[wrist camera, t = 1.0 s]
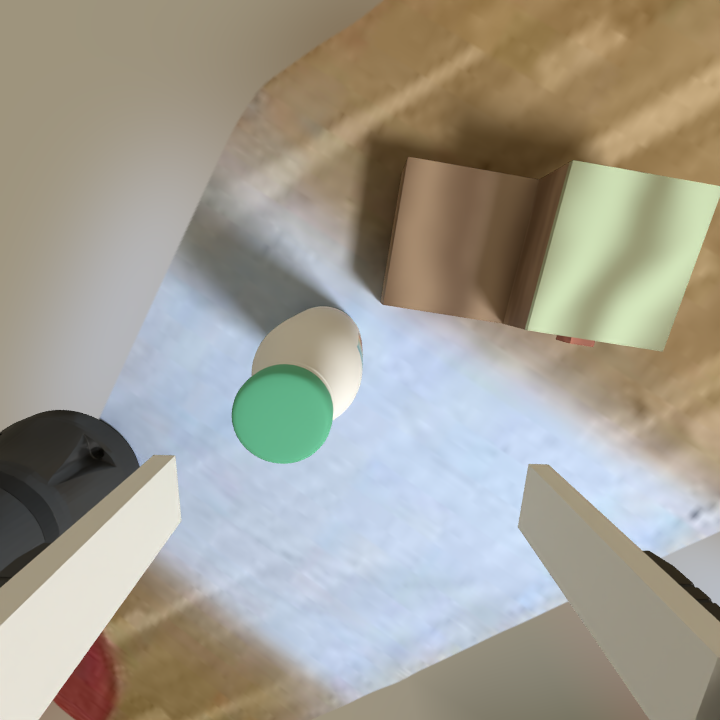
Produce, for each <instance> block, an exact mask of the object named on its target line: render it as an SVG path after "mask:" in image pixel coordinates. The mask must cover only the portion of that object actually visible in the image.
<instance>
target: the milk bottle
mask: <svg viewBox="0 0 720 720" xmlns="http://www.w3.org/2000/svg"><path fill="white" fill-rule="evenodd" d="M362 369H363V354H362V340H361V335H360V332H359V329H358V327H357V325H356V324H355V322H354V321H353V320H352V319H351V318H350V317H349V316H348V315H347V314H346V313H344V312H343V311H341V310H339V309H336V308H333V307H327V306H319V307H313V308H310V309H307V310H305V311H303V312H301V313H299V314H297V315H295V316H293V317H291V318H289V319H288V320H286V321H284V322H283V323H281V324H280V325H278V326H277V327H276V328H274V329H273V330H272V331H271V332H270V333H269V334H268V335H267V336H266V337H265V338H264V340H263V341H262V342H261V344H260V346H259V347H258V349H257V351H256V354H255V357H254V360H253V365H252V377H250V378H249V379H248V380H247V381H246V382H245V383H244V385H243V386H242V387H241V388H240V390H239V391H238V393H237V395H236V397H235V400H234V403H233V408H232V423H233V427H234V431H235V433H236V435H237V437H238V439H239V440H240V442H241V443H242V444H243V446H244V447H245V448H246V449H247V450H248V451H250V452H251V453H252V454H254V455H255V456H257V457H259V458H261V459H263V460H266V461H269V462H273V463H281V464H286V463H294V462H298V461H301V460H303V459H305V458H307V457H309V456H311V455H312V454H313V453H315V452H316V451H317V450H318V449H319V448H320V447H321V446H322V445H323V443H324V442H325V440H326V438H327V437H328V434H329V432H330V428H331V425H332V421H333V420H334V419H335V418H337V417H338V416H340V415H341V414H342V413H343V412H344V411H345V410H346V409H347V408H348V407H349V406H350V404H351V403H352V401H353V400H354V398H355V396H356V394H357V392H358V389H359V386H360V383H361V378H362Z"/></svg>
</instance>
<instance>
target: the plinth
mask: <svg viewBox="0 0 720 720" xmlns="http://www.w3.org/2000/svg"><path fill="white" fill-rule="evenodd" d="M719 197H720V186H716V185H710V184H705V183H699V182H693V181H688V180H682V179H676V178H671V177H665V176H660V175H654V174H648V173H644V172H639V171H633V170H628V169H620V168H615V167H609V166H603V165H598V164H592V163H587V162H581V161H575V160H573V161H571V162H569V163H567V164H566V165H564V166H562V167H560V168H559V169H557V170H555V171H554V172H552V173H550V174H548V175H547V176H545V177H543V178H541V179H540V180H539V179H533V178H527V177H522V176H516V175H510V174H504V173H499V172H493V171H487V170H482V169H476V168H470V167H464V166H459V165H453V164H447V163H442V162H436V161H430V160H424V159H419V158H413V157H408V158H407V161H406V163H405V166H404V169H403V171H402V175H401V181H400V187H399V193H398V199H397V205H396V211H395V217H394V223H393V229H392V235H391V241H390V247H389V253H388V259H387V265H386V271H385V277H384V283H383V289H382V295H381V301H380V302H381V303H382V304H383V305H388V306H394V307H401V308H407V309H414V310H420V311H426V312H433V313H439V314H445V315H452V316H458V317H464V318H471V319H477V320H484V321H490V322H496V323H503V324H507V325H510V326H514V327H517V328H521V329H525V330H529V331H536V332H542V333H548V334H555V335H557V337H556V340H560V341H563V342H567V343H571V344H577V345H584V346H590V347H593V346H594V343H595V341H599V342H606V343H612V344H618V345H625V346H631V347H638V348H644V349H650V350H657V351H663V350H664V347H665V344H666V342H667V339H668V336H669V334H670V331H671V328H672V325H673V323H674V320H675V317H676V314H677V312H678V309H679V306H680V304H681V301H682V298H683V295H684V293H685V290H686V287H687V284H688V282H689V279H690V276H691V274H692V271H693V268H694V265H695V263H696V260H697V257H698V254H699V252H700V249H701V246H702V244H703V241H704V238H705V235H706V233H707V230H708V227H709V224H710V222H711V219H712V216H713V214H714V211H715V208H716V205H717V203H718V200H719Z"/></svg>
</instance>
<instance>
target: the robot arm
mask: <svg viewBox="0 0 720 720" xmlns="http://www.w3.org/2000/svg"><path fill="white" fill-rule="evenodd" d="M180 522H181V513H180V502H179V491H178V480H177V469H176V458H175V456H172V455H153V456H152V457H151V458H150V459H149V460H148V461H146V462H145V463H144V464H143V465H142V466H141V467H139V464H138V461H137V459H136V456H135V454H134V453H133V451H132V449H131V448H130V446H129V445H128V443H127V442H126V441H125V440H124V439H123V438H122V437H121V436H120V435H119V434H118V433H117V432H116V431H115V430H114V429H113V428H111V427H110V426H108V425H107V424H105V423H104V422H102V421H100V420H98V419H96V418H94V417H92V416H89V415H86V414H83V413H80V412H75V411H67V410H53V411H46V412H42V413H39V414H36V415H33V416H31V417H28V418H26V419H23V420H21V421H19V422H16V423H14V424H12V425H11V426H9V427H7V428H6V429H4V430H3V431H2V432H0V720H38V719H39V718H40V717H41V715H42V714H43V713H44V711H45V710H46V708H47V707H48V706H49V704H50V703H51V702H52V700H53V699H54V697H55V696H56V695H57V693H58V692H59V690H60V689H61V688H62V686H63V685H64V683H65V682H66V681H67V679H68V678H69V676H70V675H71V674H72V672H73V671H74V670H75V668H76V667H77V665H78V664H79V663H80V661H81V660H82V658H83V657H84V656H85V654H86V653H87V651H88V650H89V649H90V647H91V646H92V644H93V643H94V642H95V640H96V639H97V638H98V636H99V635H100V633H101V632H102V631H103V629H104V628H105V626H106V625H107V624H108V622H109V621H110V619H111V618H112V617H113V615H114V614H115V612H116V611H117V610H118V608H119V607H120V606H121V604H122V603H123V601H124V600H125V599H126V597H127V596H128V594H129V593H130V592H131V590H132V589H133V587H134V586H135V585H136V583H137V582H138V580H139V579H140V578H141V576H142V575H143V574H144V572H145V571H146V569H147V568H148V567H149V565H150V564H151V562H152V561H153V560H154V558H155V557H156V555H157V554H158V553H159V551H160V550H161V548H162V547H163V546H164V544H165V543H166V542H167V540H168V539H169V537H170V536H171V535H172V533H173V532H174V530H175V529H176V528H177V526H178V525H179V523H180ZM518 528H519V529H520V531H521V532H522V534H523V535H524V537H525V538H526V540H527V541H528V543H529V544H530V545H531V547H532V548H533V550H534V551H535V553H536V554H537V556H538V557H539V559H540V560H541V562H542V563H543V564H544V566H545V567H546V569H547V570H548V572H549V573H550V575H551V576H552V578H553V579H554V581H555V582H556V583H557V585H558V586H559V588H560V589H561V591H562V592H563V594H564V595H565V597H566V598H567V600H568V601H569V602H570V604H571V605H572V607H573V608H574V610H575V611H576V613H577V614H578V616H579V617H580V618H581V620H582V621H583V623H584V624H585V626H586V627H587V629H588V630H589V632H590V633H591V635H592V636H593V638H594V639H595V640H596V642H597V643H598V645H599V646H600V648H601V649H602V651H603V652H604V653H605V655H606V657H607V658H608V660H609V661H610V662H611V664H612V665H613V667H614V668H615V670H616V671H617V673H618V674H619V676H620V677H621V679H622V680H623V681H624V683H625V684H626V686H627V687H628V689H629V690H630V692H631V693H632V695H633V696H634V698H635V699H636V700H637V702H638V703H639V705H640V706H641V708H642V709H643V711H644V712H645V714H646V715H647V717H648V718H649V719H650V720H720V607H719V606H718V605H717V604H716V603H712V601H711V599H710V598H709V597H708V596H707V595H706V594H705V593H704V592H702V591H701V590H700V589H699V588H695V587H694V584H693V583H692V582H691V581H690V580H689V579H688V578H686V577H685V576H684V575H683V574H682V573H681V572H680V571H678V570H677V569H676V568H675V567H674V566H673V565H671V564H669V563H668V562H666V561H665V560H663V559H661V558H660V557H658V556H657V555H655V554H653V553H652V552H650V551H642V550H641V549H640V548H639V547H638V546H637V545H635V544H634V543H633V542H632V541H631V540H630V539H629V538H628V537H627V536H626V535H625V534H623V533H622V532H621V531H620V530H619V529H618V528H617V527H616V526H615V525H614V524H613V523H611V522H610V521H609V520H608V519H607V518H606V517H605V516H604V515H603V514H602V513H601V512H600V511H598V510H597V509H596V508H595V507H594V506H593V505H592V504H591V503H590V502H589V501H588V500H586V499H585V498H584V497H583V496H582V495H581V494H580V493H579V492H578V491H577V490H576V489H574V488H573V487H572V486H571V485H570V484H569V483H568V482H567V481H566V480H565V479H564V478H562V477H561V476H560V475H559V474H558V473H557V472H556V471H555V470H554V469H553V468H552V467H551V466H549V465H544V464H529V465H528V471H527V476H526V482H525V488H524V494H523V500H522V506H521V512H520V517H519V523H518Z"/></svg>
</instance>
